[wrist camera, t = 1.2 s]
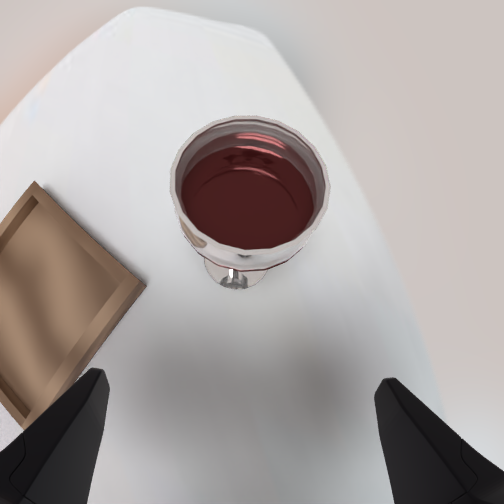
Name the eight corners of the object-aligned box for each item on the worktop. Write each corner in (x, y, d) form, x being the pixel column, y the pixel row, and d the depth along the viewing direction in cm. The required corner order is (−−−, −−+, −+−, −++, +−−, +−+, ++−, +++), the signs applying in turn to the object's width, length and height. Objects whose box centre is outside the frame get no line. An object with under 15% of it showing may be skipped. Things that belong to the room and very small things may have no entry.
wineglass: (233, 199, 25) (243, 93, 14) (298, 253, 25) (359, 176, 13) (173, 260, 24) (134, 183, 12) (242, 320, 23) (262, 295, 11)
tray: (41, 431, 18) (29, 436, 16) (-43, 318, 20) (-55, 316, 18) (146, 286, 23) (139, 281, 21) (44, 190, 24) (34, 180, 22)
